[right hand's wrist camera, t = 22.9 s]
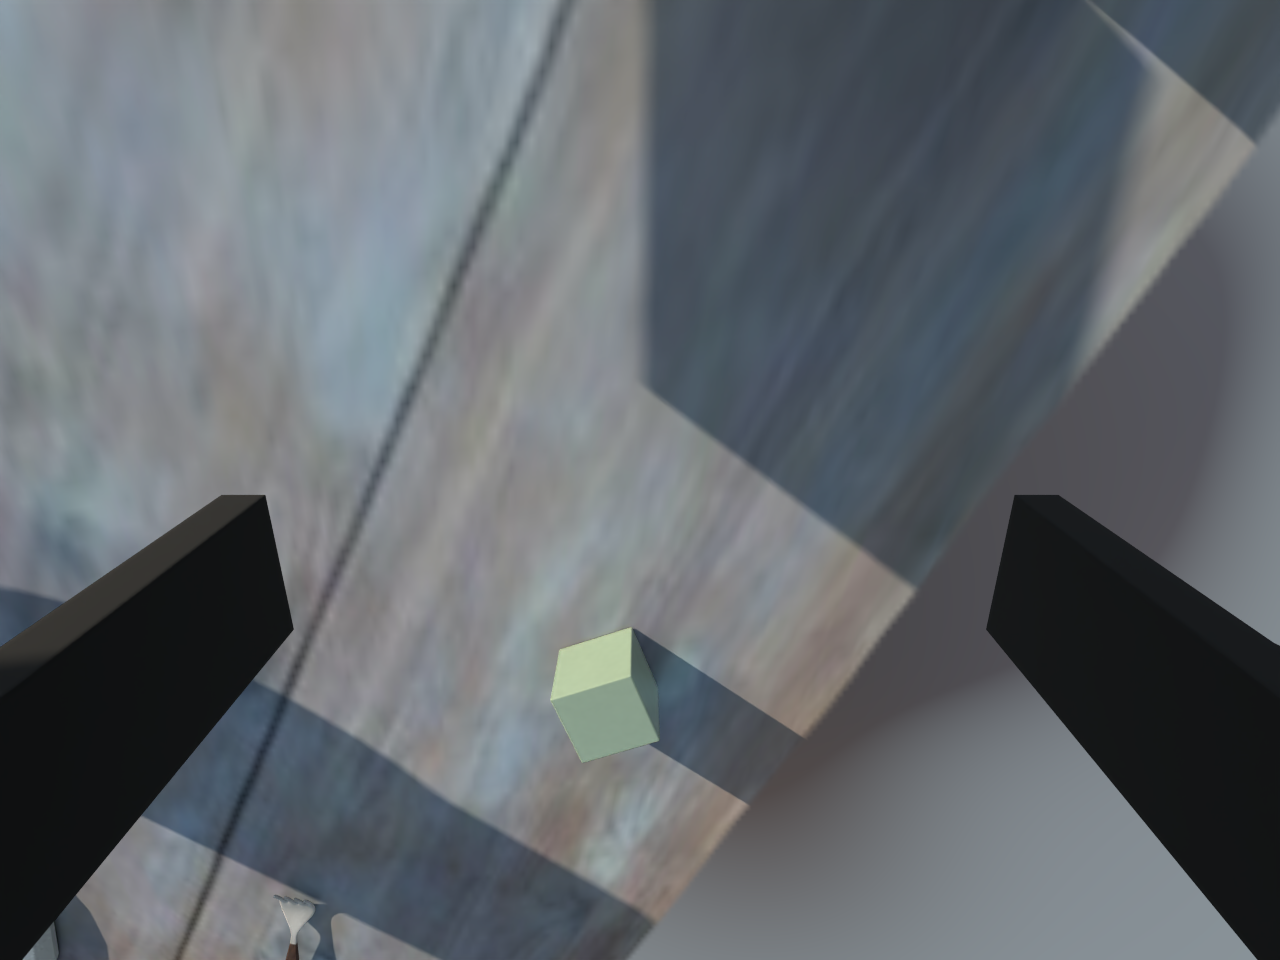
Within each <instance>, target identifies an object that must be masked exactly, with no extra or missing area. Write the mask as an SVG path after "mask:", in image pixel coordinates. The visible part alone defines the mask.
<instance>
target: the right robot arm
mask: <svg viewBox="0 0 1280 960" xmlns="http://www.w3.org/2000/svg"><path fill="white" fill-rule="evenodd" d="M293 630H294V628H293V623H292V619H291V614H290V609H289V605H288V600H287V595H286V590H285V586H284V581H283V576H282V571H281V567H280V562H279V557H278V553H277V548H276V543H275V538H274V534H273V529H272V524H271V520H270V515H269V510H268V505H267V501H266V496H265V495H221V496H219V497H218V498H217V499H215V500H214V501H212V502H211V503H209V504H208V505H206V506H205V507H203V508H202V509H201V510H199V511H198V512H196V513H195V514H193V515H192V516H190V517H189V518H187V519H186V520H185V521H183V522H182V523H180V524H179V525H177V526H176V527H174V528H173V529H171V530H170V531H168V532H167V533H166V534H164V535H163V536H161V537H160V538H158V539H157V540H155V541H154V542H152V543H151V544H150V545H148V546H147V547H145V548H144V549H142V550H141V551H139V552H138V553H136V554H135V555H134V556H132V557H131V558H129V559H128V560H126V561H125V562H123V563H122V564H120V565H119V566H118V567H116V568H115V569H113V570H112V571H110V572H109V573H107V574H106V575H104V576H103V577H101V578H100V579H99V580H97V581H96V582H94V583H93V584H91V585H90V586H88V587H87V588H85V589H84V590H83V591H81V592H80V593H78V594H77V595H75V596H74V597H72V598H71V599H69V600H68V601H67V602H65V603H64V604H62V605H61V606H59V607H58V608H56V609H55V610H53V611H52V612H51V613H49V614H48V615H46V616H45V617H43V618H42V619H40V620H39V621H37V622H36V623H35V624H33V625H32V626H30V627H29V628H27V629H26V630H24V631H23V632H21V633H20V634H18V635H17V636H16V637H14V638H13V639H11V640H10V641H8V642H7V643H5V644H4V645H2V646H1V647H0V960H23V959H24V957H25V956H26V955H27V954H28V952H29V951H30V950H31V949H32V948H33V946H34V945H35V944H36V943H37V941H38V940H39V939H40V938H41V937H42V935H43V934H44V933H45V932H46V931H47V929H48V928H49V927H50V926H51V924H52V923H53V922H54V921H55V920H56V918H57V917H58V916H59V915H60V913H61V912H62V911H63V910H64V909H65V907H66V906H67V905H68V904H69V903H70V901H71V900H72V899H73V898H74V896H75V895H76V894H77V893H78V892H79V890H80V889H81V888H82V887H83V885H84V884H85V883H86V882H87V881H88V879H89V878H90V877H91V876H92V875H93V873H94V872H95V871H96V870H97V868H98V867H99V866H100V865H101V864H102V862H103V861H104V860H105V859H106V857H107V856H108V855H109V854H110V853H111V851H112V850H113V849H114V848H115V846H116V845H117V844H118V843H119V842H120V840H121V839H122V838H123V837H124V836H125V834H126V833H127V832H128V831H129V829H130V828H131V827H132V826H133V825H134V823H135V822H136V821H137V820H138V818H139V817H140V816H141V815H142V814H143V812H144V811H145V810H146V809H147V808H148V806H149V805H150V804H151V803H152V801H153V800H154V799H155V798H156V797H157V795H158V794H159V793H160V792H161V790H162V789H163V788H164V787H165V786H166V784H167V783H168V782H169V781H170V780H171V778H172V777H173V776H174V775H175V773H176V772H177V771H178V770H179V769H180V767H181V766H182V765H183V764H184V762H185V761H186V760H187V759H188V758H189V756H190V755H191V754H192V753H193V752H194V750H195V749H196V748H197V747H198V745H199V744H200V743H201V742H202V741H203V739H204V738H205V737H206V736H207V734H208V733H209V732H210V731H211V730H212V728H213V727H214V726H215V725H216V723H217V722H218V721H219V720H220V719H221V717H222V716H223V715H224V714H225V713H226V711H227V710H228V709H229V708H230V706H231V705H232V704H233V703H234V702H235V700H236V699H237V698H238V697H239V695H240V694H241V693H242V692H243V691H244V689H245V688H246V687H247V686H248V685H249V683H250V682H251V681H252V680H253V678H254V677H255V676H256V675H257V674H258V672H259V671H260V670H261V669H262V667H263V666H264V665H265V664H266V663H267V661H268V660H269V659H270V658H271V657H272V655H273V654H274V653H275V652H276V650H277V649H278V648H279V647H280V646H281V644H282V643H283V642H284V641H285V639H286V638H287V637H288V636H289V635H290V633H291V632H292V631H293ZM986 630H987V631H988V632H989V633H990V635H991V636H992V637H993V638H994V639H995V641H996V642H997V643H998V644H999V646H1000V647H1001V648H1002V649H1003V650H1004V652H1005V653H1006V654H1007V655H1008V657H1009V658H1010V659H1011V660H1012V661H1013V663H1014V664H1015V665H1016V666H1017V667H1018V669H1019V670H1020V671H1021V672H1022V673H1023V675H1024V676H1025V677H1026V678H1027V680H1028V681H1029V682H1030V683H1031V684H1032V686H1033V687H1034V688H1035V689H1036V691H1037V692H1038V693H1039V694H1040V695H1041V697H1042V698H1043V699H1044V700H1045V701H1046V703H1047V704H1048V705H1049V706H1050V708H1051V709H1052V710H1053V711H1054V713H1055V714H1056V715H1057V716H1058V717H1059V719H1060V720H1061V721H1062V722H1063V723H1064V725H1065V726H1066V727H1067V728H1068V730H1069V731H1070V732H1071V733H1072V734H1073V736H1074V737H1075V738H1076V739H1077V741H1078V742H1079V743H1080V744H1081V745H1082V747H1083V748H1084V749H1085V750H1086V752H1087V753H1088V754H1089V755H1090V756H1091V758H1092V759H1093V760H1094V761H1095V762H1096V764H1097V765H1098V766H1099V767H1100V769H1101V770H1102V771H1103V772H1104V773H1105V775H1106V776H1107V777H1108V778H1109V779H1110V781H1111V782H1112V783H1113V784H1114V786H1115V787H1116V788H1117V789H1118V790H1119V792H1120V793H1121V794H1122V795H1123V797H1124V798H1125V799H1126V800H1127V801H1128V803H1129V804H1130V805H1131V806H1132V808H1133V809H1134V810H1135V811H1136V812H1137V814H1138V815H1139V816H1140V817H1141V818H1142V820H1143V821H1144V822H1145V823H1146V825H1147V826H1148V827H1149V828H1150V829H1151V831H1152V832H1153V833H1154V834H1155V836H1156V837H1157V838H1158V839H1159V840H1160V842H1161V843H1162V844H1163V845H1164V846H1165V848H1166V849H1167V850H1168V851H1169V853H1170V854H1171V855H1172V856H1173V857H1174V859H1175V860H1176V861H1177V862H1178V864H1179V865H1180V866H1181V867H1182V868H1183V870H1184V871H1185V872H1186V873H1187V874H1188V876H1189V877H1190V878H1191V879H1192V881H1193V882H1194V883H1195V884H1196V885H1197V887H1198V888H1199V889H1200V890H1201V891H1202V893H1203V894H1204V895H1205V896H1206V898H1207V899H1208V900H1209V901H1210V902H1211V904H1212V905H1213V906H1214V907H1215V909H1216V910H1217V911H1218V912H1219V913H1220V915H1221V916H1222V917H1223V918H1224V920H1225V921H1226V922H1227V923H1228V924H1229V926H1230V927H1231V928H1232V929H1233V931H1234V932H1235V933H1236V934H1237V935H1238V937H1239V938H1240V939H1241V940H1242V941H1243V943H1244V944H1245V945H1246V946H1247V948H1248V949H1249V950H1250V951H1251V952H1252V954H1253V955H1254V956H1255V957H1256V959H1257V960H1280V646H1279V645H1277V644H1275V643H1273V642H1272V641H1270V640H1269V639H1267V638H1266V637H1264V636H1263V635H1262V634H1260V633H1259V632H1257V631H1256V630H1254V629H1253V628H1251V627H1250V626H1248V625H1247V624H1245V623H1244V622H1243V621H1241V620H1240V619H1238V618H1237V617H1235V616H1234V615H1232V614H1231V613H1229V612H1228V611H1227V610H1225V609H1224V608H1222V607H1221V606H1219V605H1218V604H1216V603H1215V602H1213V601H1212V600H1211V599H1209V598H1208V597H1206V596H1205V595H1203V594H1202V593H1200V592H1199V591H1197V590H1196V589H1194V588H1193V587H1192V586H1190V585H1189V584H1187V583H1186V582H1184V581H1183V580H1181V579H1180V578H1178V577H1177V576H1176V575H1174V574H1173V573H1171V572H1170V571H1168V570H1167V569H1165V568H1164V567H1162V566H1161V565H1160V564H1158V563H1157V562H1155V561H1154V560H1152V559H1151V558H1149V557H1148V556H1146V555H1145V554H1144V553H1142V552H1141V551H1139V550H1138V549H1136V548H1135V547H1133V546H1132V545H1130V544H1129V543H1128V542H1126V541H1125V540H1123V539H1122V538H1120V537H1119V536H1117V535H1116V534H1114V533H1113V532H1112V531H1110V530H1109V529H1107V528H1106V527H1104V526H1103V525H1101V524H1100V523H1098V522H1097V521H1095V520H1094V519H1093V518H1091V517H1090V516H1088V515H1087V514H1085V513H1084V512H1082V511H1081V510H1079V509H1078V508H1077V507H1075V506H1074V505H1072V504H1071V503H1069V502H1068V501H1066V500H1065V499H1063V498H1062V497H1061V496H1059V495H1015V496H1014V501H1013V505H1012V510H1011V515H1010V520H1009V524H1008V529H1007V534H1006V538H1005V543H1004V548H1003V553H1002V557H1001V562H1000V567H999V572H998V576H997V581H996V586H995V590H994V595H993V600H992V605H991V609H990V614H989V619H988V623H987V628H986Z"/></svg>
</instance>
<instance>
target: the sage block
mask: <svg viewBox="0 0 1280 960" xmlns="http://www.w3.org/2000/svg"><path fill="white" fill-rule="evenodd" d="M551 702H552V704H553V706H554V708H555V710H556V712H557V714H558V716H559V718H560V720H561V722H562V724H563V726H564V728H565V730H566V732H567V734H568V736H569V738H570V740H571V742H572V744H573V746H574V748H575V750H576V752H577V754H578V756H579V758H580V760H581V762H582V763H585V762H588V761H592V760H595V759H599V758H602V757H605V756H609V755H612V754H616V753H619V752H623V751H626V750H630V749H633V748H637V747H640V746H644V745H647V744H651V743H654V742H657V741H660V732H659V705H658V686H657V684H656V682H655V679H654V677H653V675H652V672H651V670H650V668H649V665H648V663H647V661H646V658H645V656H644V654H643V651H642V649H641V647H640V645H639V642H638V640H637V638H636V635H635V633H634V631H633V628H632V627H630V628H627V629H624V630H621V631H617V632H614V633H611V634H608V635H605V636H601V637H598V638H595V639H592V640H589V641H585V642H582V643H579V644H576V645H573V646H569V647H566V648H563V649H560V650H559V656H558V661H557V667H556V672H555V678H554V683H553V689H552V694H551Z"/></svg>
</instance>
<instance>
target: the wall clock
mask: <svg viewBox="0 0 1280 960" xmlns="http://www.w3.org/2000/svg"><path fill="white" fill-rule="evenodd" d="M58 954H59V951H58V944H57V938H56V932H55V926H54V922H53V923H52V924H51V926H50V927H49V928H48V929H47V931H46V932H45V933H44V934H43V935H42V937H41V938H40V939H39V940H38V941H37V943H36V944H35V945H34V946H33V948H32V949H31V950H30V951H29V952H28V954H27V955H26V956H25V957H24V959H23V960H57V958H58Z"/></svg>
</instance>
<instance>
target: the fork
mask: <svg viewBox="0 0 1280 960" xmlns="http://www.w3.org/2000/svg"><path fill="white" fill-rule="evenodd" d="M273 898H276V899H278V900H279V901H280V904H281V908H282V910H283V913H284V915H285V917H286V920H287V922H288V924H289V927H290V930H291V941H290V945H289V949H288V953H287V957H286V960H299V954H298V944H297V934H298V932H299V930H300V929H301V928H302V927H303V926H304V925H305V924H306V923H307V921H308V920H309V919H310V918H311V917H312V916H313V914H314V913H315V906H314V905H313V903H312V902H310V901H308V900H304V901H301V900H300V899H297V898H295V899H294V900H292V899H291V898H289V897H284V898H282V897H280V896H278V895H274V897H273ZM295 901H296V902H295ZM306 903H307V904H306Z"/></svg>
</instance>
